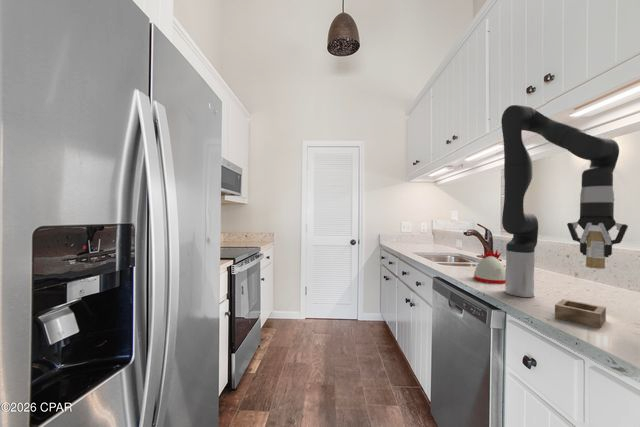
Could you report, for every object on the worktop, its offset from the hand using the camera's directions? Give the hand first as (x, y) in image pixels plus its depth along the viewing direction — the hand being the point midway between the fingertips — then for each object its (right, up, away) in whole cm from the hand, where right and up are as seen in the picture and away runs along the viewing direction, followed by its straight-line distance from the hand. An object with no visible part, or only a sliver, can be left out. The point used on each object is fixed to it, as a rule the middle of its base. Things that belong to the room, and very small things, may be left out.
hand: (595, 255), depth 88 cm
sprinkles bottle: (0, -4, 0) cm, 4 cm away
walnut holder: (-7, -19, -2) cm, 20 cm away
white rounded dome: (-4, -19, +48) cm, 52 cm away
